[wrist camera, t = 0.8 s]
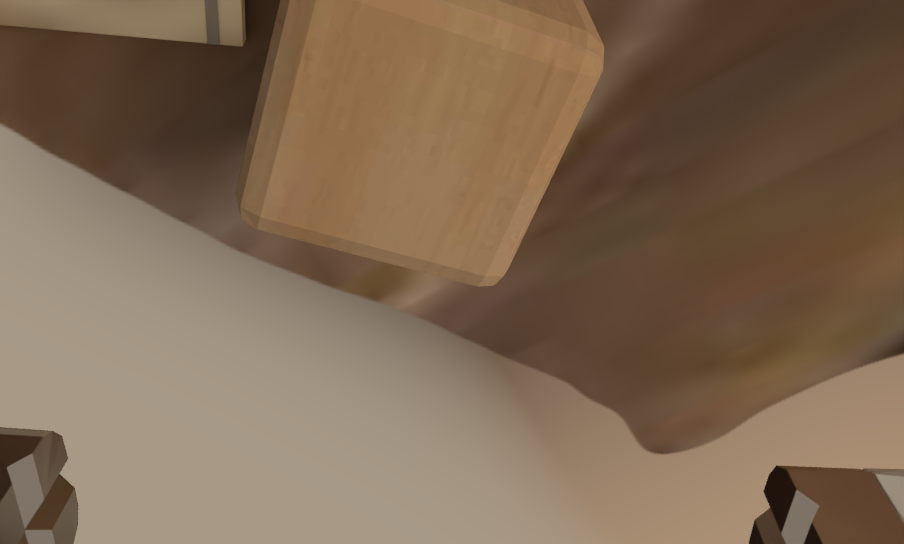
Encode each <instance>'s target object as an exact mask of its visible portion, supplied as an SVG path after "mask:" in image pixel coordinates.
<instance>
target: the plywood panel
mask: <svg viewBox="0 0 904 544" xmlns="http://www.w3.org/2000/svg"><path fill="white" fill-rule="evenodd" d="M0 25H6V26H17V27H28V28H39V29H51V30H62V31H73V32H84V33H95V34H107V35H118V36H129V37H140V38H152V39H163V40H174V41H185V42H197V43H207V44H211V45H230V46H242V47H243V45H244V43H245V41H246V24H245V0H0Z"/></svg>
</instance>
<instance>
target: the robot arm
mask: <svg viewBox="0 0 904 544" xmlns="http://www.w3.org/2000/svg"><path fill="white" fill-rule="evenodd" d="M67 459H68V456H67V452H66V449H65V445H64V441H63V438H62V436H61V435H59V434H57V433H55V432H54V431H45V430H31V429H17V428H2V427H0V544H73V543H74V539H75V535H76V531H77V526H78V502H77V497H76V492H75V488H74V487H73V486H72V485H71V484H70V483H69V482H68V481H67V480H65V479H64V478H63V477H62V476H61V475H60V474H59V473H60V471H61V470H62V468H63V466H64V465H65V463H66V461H67ZM764 494H765V496H766V498H767V501H768V503H769V506H770V508H769V509H768V510H767V511H766V512H764V513H763V514H762V515H760V516H759V517H758V518H757V519H755V521H754V524H753V528H752V532H751V536H750V540H749V544H904V470H900V469H866V468H865V469H863V470H861V469H847V468H821V467H797V466H776V467H775V468H774V469H773V470H772V472H771V473H770V474H769V476H768V479H767V482H766V485H765V489H764Z"/></svg>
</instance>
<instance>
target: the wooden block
mask: <svg viewBox="0 0 904 544" xmlns="http://www.w3.org/2000/svg"><path fill="white" fill-rule="evenodd" d="M603 59H604V45H603V43H602V41H601V39H600V37H599V35H598V32H597V30H596V28H595V26H594V24H593V22H592V19H591V17H590V15H589V13H588V11H587V8H586V6H585V4H584V2H583V0H280V3H279V8H278V12H277V16H276V20H275V25H274V29H273V33H272V38H271V42H270V46H269V51H268V55H267V59H266V63H265V68H264V72H263V76H262V81H261V85H260V89H259V94H258V98H257V102H256V106H255V111H254V115H253V119H252V124H251V128H250V132H249V137H248V141H247V145H246V149H245V154H244V158H243V162H242V167H241V171H240V175H239V180H238V184H237V188H236V192H235V194H236V198H237V203H238V207H239V211H240V215H241V219H242V220H243V221H245V222H246V223H248V224H250V225H251V226H253V227H255V228H256V229H259V230H263V231H267V232H270V233H274V234H278V235H282V236H286V237H290V238H293V239H297V240H301V241H305V242H309V243H313V244H317V245H320V246H324V247H328V248H332V249H336V250H340V251H344V252H347V253H351V254H355V255H359V256H363V257H367V258H370V259H374V260H378V261H382V262H386V263H390V264H394V265H397V266H401V267H405V268H409V269H413V270H417V271H420V272H424V273H428V274H432V275H436V276H440V277H444V278H447V279H451V280H455V281H459V282H463V283H467V284H471V285H474V286H492V285H495V284H496V283H497V282H498V281H499V280H500V279H501V278H502V277H503V276H504V274H505V273H506V271H507V269H508V268H509V266H510V264H511V262H512V260H513V258H514V255H515V253H516V251H517V249H518V247H519V245H520V243H521V241H522V239H523V237H524V235H525V232H526V230H527V228H528V226H529V224H530V222H531V220H532V218H533V216H534V214H535V211H536V209H537V207H538V205H539V203H540V201H541V199H542V197H543V195H544V193H545V191H546V188H547V186H548V184H549V182H550V180H551V178H552V176H553V174H554V172H555V170H556V168H557V165H558V163H559V161H560V159H561V157H562V155H563V153H564V151H565V149H566V147H567V145H568V142H569V140H570V138H571V136H572V134H573V132H574V130H575V128H576V126H577V124H578V121H579V119H580V117H581V115H582V113H583V111H584V109H585V107H586V105H587V103H588V101H589V98H590V96H591V94H592V92H593V90H594V88H595V86H596V84H597V82H598V80H599V78H600V75H601V73H602V71H603Z"/></svg>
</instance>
